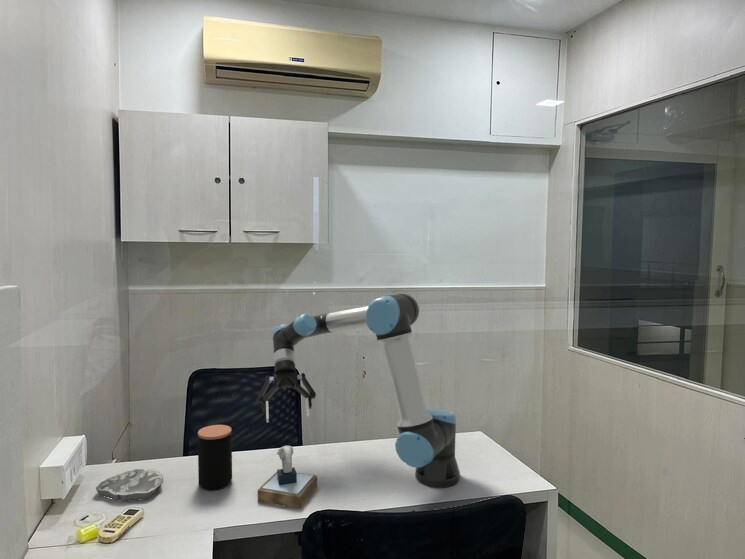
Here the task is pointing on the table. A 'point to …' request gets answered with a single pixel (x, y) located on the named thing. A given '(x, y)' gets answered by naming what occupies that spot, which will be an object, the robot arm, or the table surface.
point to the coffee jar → (214, 457)
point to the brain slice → (131, 485)
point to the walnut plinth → (288, 491)
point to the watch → (286, 466)
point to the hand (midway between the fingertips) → (288, 419)
